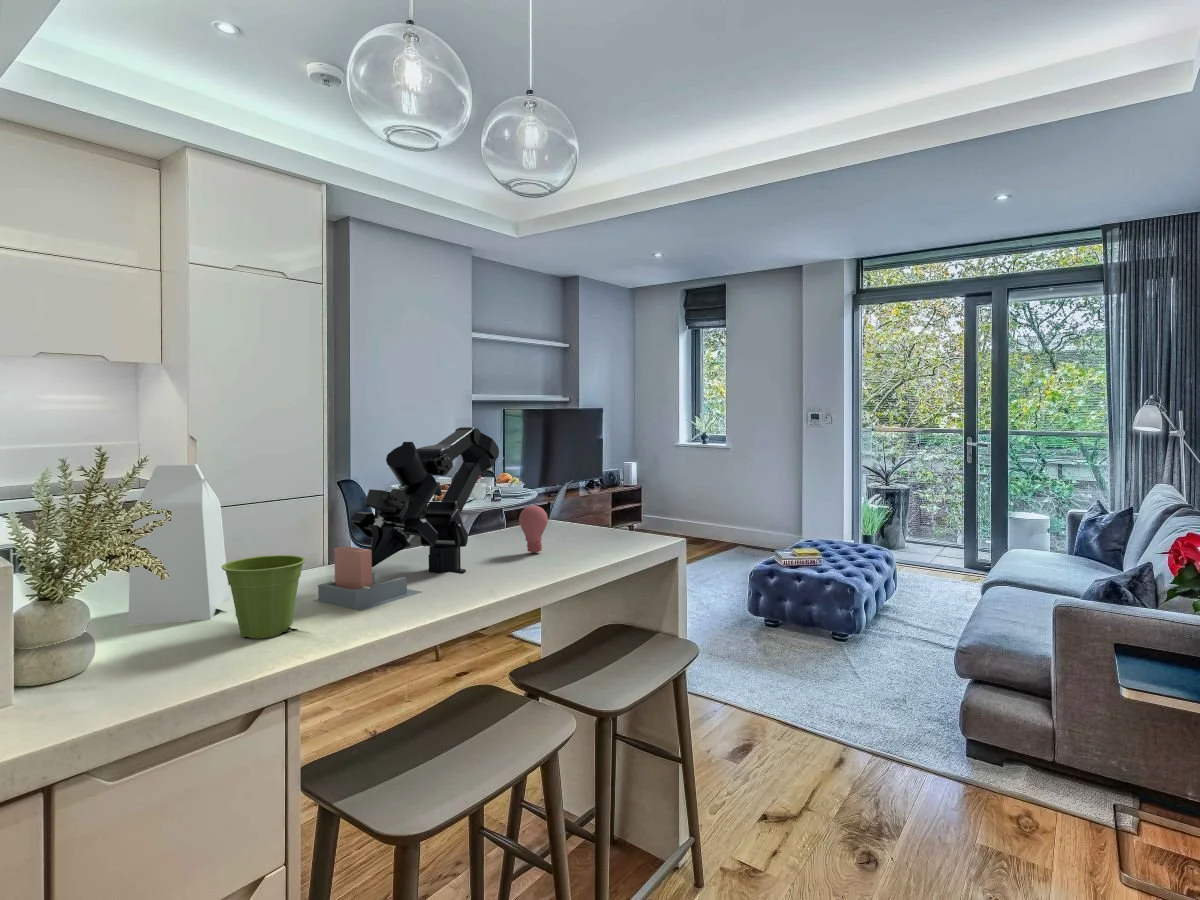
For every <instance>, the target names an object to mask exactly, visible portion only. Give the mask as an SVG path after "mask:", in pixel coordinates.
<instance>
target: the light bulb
mask: <svg viewBox="0 0 1200 900" xmlns="http://www.w3.org/2000/svg"><path fill="white" fill-rule="evenodd" d="M548 517H549V516H548V513H547V512H546V511H545V509H544V508H542V507H541V506H538V505H528V506H526V507H524V509H522V510H521V512H520V514H519V519H518V520H519V521H518V522H519V525H520V527H521V531H522V532H523V534H524V536H525V541H526V542H527V543H526V547H527V552H529V553H532V554H537V553H539V552H542V551H543V550H542V549H543V543H542V539H543V538H542V536H543V534H544V532H545V530H546V528H547V525H548V520H549V519H548Z"/></svg>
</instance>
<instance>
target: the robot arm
mask: <svg viewBox="0 0 1200 900" xmlns="http://www.w3.org/2000/svg"><path fill="white" fill-rule="evenodd" d="M459 456H461V458H462V463H461V465H460V467H459V469H458V471H457V472H456V474H455V476H454V477H453V479H452V481H451V482H450V484H449V487H448V488H447V490H446V492H445V494H444V495H443V497H442V499H441V501H436V500H435V501H434V500H433V501H431V499H432V498H433V496H437V497H440V496H442V489H441V482H439V481H437V480H436V478H435V477H444V476H447V475H448V473H449V472H450V471H451V470H452V468H454V464H453V461H454V460H456V459H457V458H459ZM499 456H500V449H499V446H498V444H497V443H496V441H494V439H493V438H492V437H490V436H488V435H486V434H485V433H483V432H482V431H481V430H480V429H479V428H478V427H477V428H476V427H475V426H465V427H464V426H460V427H459V428H456V429H455V430H454V432H452V433H451V434H450V435H448V436H446V437H445V438H444V439H442V440H441V441H439V442H438V443H437V444H433V445H425V446H421V447H418V448H416V445H415V443H414V441H403V442H402V444H401V445H399V446H396V448H393V449H392V450H391V451H390V452H388V454H387V455H386V458H385V462H386V465H388V467H389V469H390V470H391V472H392V474H393V476H395V478H396V480H397V481H398V483H400V484H401V485H404V486H403V487H402V489H401V488H392V489H391V490H390V491H387V490H382V489H368V492H367V495H366V498H365V501H364V505H363V506H364V507H367V508H371V509H374V510H376V511H377V513H376V514H377V515H378V516H379V517H380V518H379V517H377V515H375V514H374V513H373V512H369V511H367V512H365V511H358V512H355V514H354V515H353V516H352V518H351V519H350V522H351V524H353V526H355V528H356V529H357V530H358V531H359V532H360V533H362V535H364V536H365V537H366V538H368V539H371V545H370V549H369V550H371V553H372V568H374V567H376V566H377V565H378V564H380V563H382V562H384V561H385V560H387V559H388V558H390V557H392V556H393V555H395V554H396V553H399V552H400V551H402V550H403V549H406V548H410V547H411V546H412V545H411V543H410V541H411V539H412V538H414V537H415V536H418V537H420V543H421V546H422V547H429V551H428V552H429V554H428V573H433V574H444V573H454V574H462V573H465V572H467V570H466V569H465V568H461V548H463V547H467V544H468V541H469V534H468V532H467V530H466V528H465V526H464V522H463V519H462V516H461V513H462V511H463V509H464V507H465V505H466V503H467V501H468V499H469V497H470V495H471V493H472V492H473V489H474V488H475V486H476V485H477V482H478V480H479V478H480V476H481V474H482V473H484V472H486V471H487V470H490V469H491V468H492V467H493V466H494V464H495V463H496V461H497V459H498V458H499Z"/></svg>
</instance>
